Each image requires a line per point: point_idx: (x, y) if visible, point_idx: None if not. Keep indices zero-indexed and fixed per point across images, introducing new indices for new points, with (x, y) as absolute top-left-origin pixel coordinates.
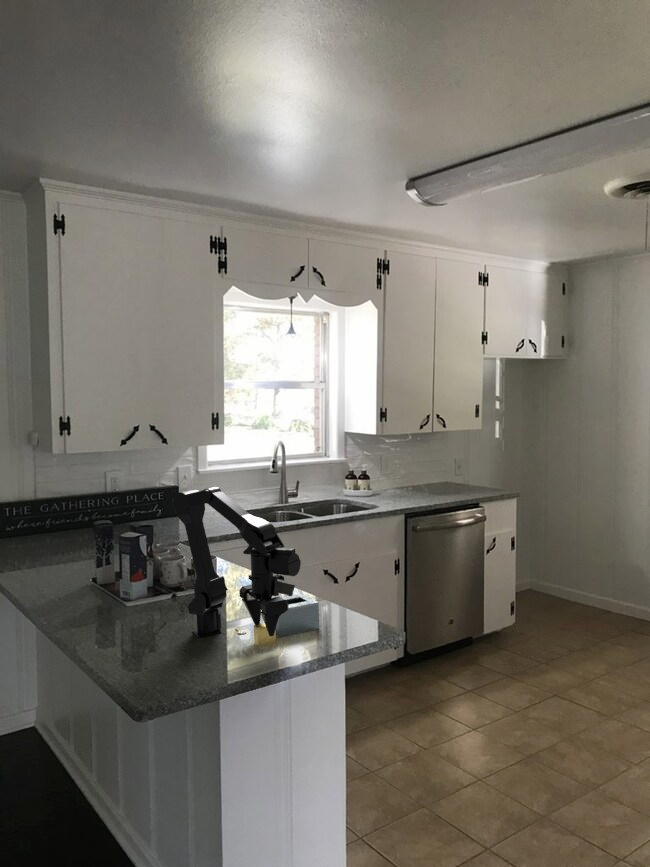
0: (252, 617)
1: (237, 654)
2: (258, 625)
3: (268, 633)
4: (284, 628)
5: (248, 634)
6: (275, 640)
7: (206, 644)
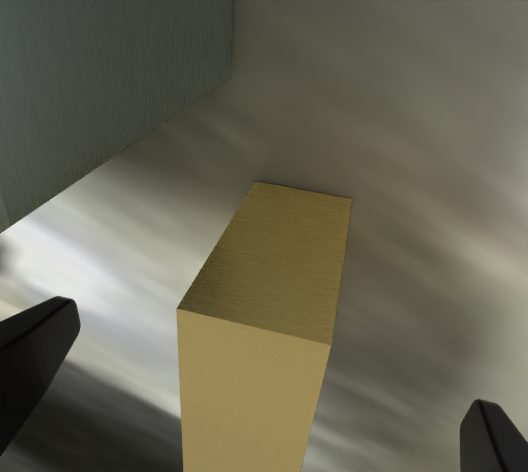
0: (10, 441)
1: (336, 457)
2: (223, 461)
3: (465, 468)
4: (194, 5)
5: (18, 228)
6: (348, 215)
7: (94, 441)
